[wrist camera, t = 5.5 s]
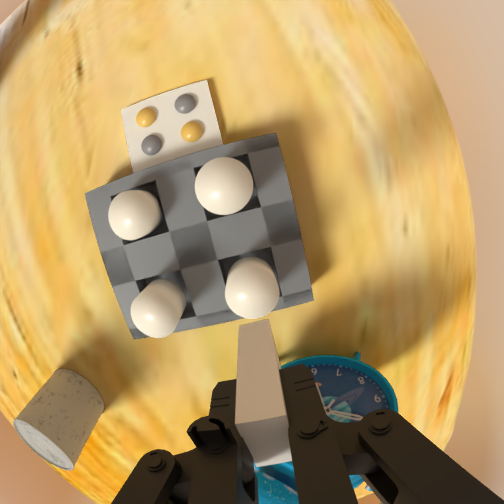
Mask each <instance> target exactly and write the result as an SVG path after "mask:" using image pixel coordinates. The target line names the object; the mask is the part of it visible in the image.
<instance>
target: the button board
mask: <svg viewBox="0 0 504 504" xmlns="http://www.w3.org/2000/svg"><path fill="white" fill-rule="evenodd" d="M219 157H229V158H233V159H236V160H238V161H240V162H241V163H243V164H244V165H245V166H246V167H247V168H248V170H249V171H250V173H251V176H252V179H253V192H252V195H251V198H250V200H249V201H248V203H247V204H246V205H245V206H244V207H243V208H242V209H241V210H239V211H237V212H235V213H233V214H228V215H219V214H215V213H212V212H210V211H208V210H207V209H205V208H204V207H203V206H202V205H201V204H200V202H199V201H198V199H197V196H196V193H195V180H196V177H197V174H198V172H199V171H200V169H201V168H202V167H203V166H204V165H205V164H206V163H207V162H209V161H211V160H213V159H215V158H219ZM128 190H148V191H151V192H154V193H155V194H157V195H158V196H159V198H160V200H161V204H162V208H163V211H164V218H163V221H162V223H161V225H160V226H159V227H158V228H157V229H156V230H155V231H153V232H151V233H149V234H147V235H145V236H143V237H141V238H138V239H136V240H125V239H122V238H120V237H119V236H117V235H116V234H115V233H114V231H113V230H112V228H111V226H110V223H109V219H108V212H109V207H110V204H111V202H112V200H113V199H114V198H115V197H116V196H117V195H118V194H119V193H121V192H123V191H128ZM85 196H86V201H87V205H88V209H89V213H90V217H91V221H92V225H93V228H94V232H95V236H96V239H97V242H98V246H99V249H100V252H101V256H102V259H103V262H104V265H105V268H106V271H107V274H108V276H109V279H110V282H111V285H112V288H113V290H114V293H115V296H116V298H117V301H118V303H119V306H120V308H121V311H122V313H123V316H124V318H125V320H126V323H127V325H128V327H129V329H130V332H131V334H132V336H133V338H134V339H139V338H146V337H150V336H147V335H146V334H144V333H142V332H141V331H140V330H139V329H138V328H137V327H136V326H135V324H134V322H133V320H132V318H131V305H132V302H133V301H134V299H135V298H136V297H137V296H138V295H139V294H140V293H141V292H142V291H143V290H144V289H145V288H146V287H147V286H148V285H149V284H150V283H151V282H152V281H154V280H156V279H169V280H171V281H173V282H175V283H176V284H178V285H179V286H180V287H181V289H182V290H183V292H184V294H185V297H186V306H185V309H184V311H183V314H182V316H181V318H180V320H179V322H178V324H177V326H176V328H175V330H174V331H173V332H172V333H175V332H180V331H185V330H191V329H196V328H201V327H206V326H210V325H215V324H220V323H225V322H229V321H234V320H238V319H243V318H244V317H241V316H239V315H237V314H235V313H234V312H233V311H232V310H231V309H230V308H229V306H228V304H227V302H226V299H225V288H226V283H227V277H228V273H229V270H230V268H231V267H232V265H233V264H234V263H235V262H236V261H238V260H240V259H242V258H245V257H258V258H261V259H263V260H264V261H266V262H267V263H268V264H269V265H270V266H271V268H272V270H273V272H274V275H275V278H276V281H277V283H278V286H279V292H280V295H279V300H278V303H277V305H276V306H275V308H274V309H273V310H272V311H276V310H280V309H284V308H288V307H291V306H295V305H299V304H303V303H306V302H310V301H314V298H313V293H312V288H311V282H310V277H309V272H308V267H307V262H306V257H305V252H304V247H303V242H302V238H301V233H300V228H299V224H298V219H297V215H296V210H295V206H294V202H293V198H292V193H291V189H290V185H289V181H288V177H287V173H286V169H285V165H284V161H283V157H282V153H281V150H280V146H279V142H278V138H277V135H276V133H272V134H267V135H263V136H258V137H254V138H249V139H245V140H241V141H237V142H233V143H229V144H225V145H221V146H217V147H214V148H210V149H206V150H203V151H199V152H196V153H193V154H189V155H186V156H183V157H180V158H176V159H173V160H170V161H167V162H164V163H161V164H158V165H155V166H153V167H150V168H147V169H144V170H141V171H139V172H136V173H133V174H131V175H128V176H125V177H123V178H120V179H118V180H115V181H113V182H110V183H108V184H106V185H103V186H101V187H98V188H96V189H94V190H91V191H89V192H87V193H85ZM272 311H271V312H272Z"/></svg>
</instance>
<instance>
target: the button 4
mask: <svg viewBox="0 0 504 504" xmlns="http://www.w3.org/2000/svg"><path fill="white" fill-rule="evenodd" d="M279 295H280V292H279V286H278V283H277V281H276V278H275V275H274V272H273V270H272V268H271V266H270V265H269V264H268V263H267V262H266V261H264V260H263V259H261V258H258V257H245V258H242V259H240V260H238V261H236V262H235V263H234V264H233V265H232V267H231V268H230V270H229V273H228V277H227V283H226V288H225V299H226V302H227V304H228V306H229V308H230V309H231V310H232V311H233V312H234V313H235V314H237V315H239V316H241V317H244V318H248V319H256V318H260V317H263V316H265V315H267V314H269V313H270V312H271V311H272V310H273V309H274V308H275V306H276V305H277V303H278V300H279Z"/></svg>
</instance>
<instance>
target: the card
mask: <svg viewBox="0 0 504 504" xmlns="http://www.w3.org/2000/svg"><path fill="white" fill-rule="evenodd" d="M121 113H122V119H123V125H124V131H125V136H126V141H127V147H128V152H129V157H130V161H131V166H132V170H133V173H136V172H139V171H141V170H144V169H147V168H150V167H153V166H155V165H158V164H161V163H164V162H167V161H170V160H173V159H176V158H180V157H183V156H186V155H189V154H193V153H196V152H199V151H203V150H206V149H210V148H214V147H217V146H221V145H223V141H222V137H221V133H220V129H219V125H218V121H217V117H216V113H215V109H214V106H213V102H212V98H211V94H210V90H209V86H208V82H207V80H204V81H200V82H197V83H193V84H190V85H187V86H183V87H180V88H177V89H174V90H171V91H168V92H165V93H162V94H159V95H157V96H154V97H151V98H149V99H146V100H143V101H141V102H138V103H136V104H133V105H131V106H129V107H126V108H124V109H122V110H121Z"/></svg>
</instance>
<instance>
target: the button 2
mask: <svg viewBox="0 0 504 504" xmlns="http://www.w3.org/2000/svg"><path fill="white" fill-rule="evenodd" d="M185 306H186V297H185V294H184V292H183V290H182V289H181V287H180V286H179V285H178V284H176V283H175V282H173V281H171V280H169V279H156V280H154V281H152V282H151V283H150V284H149V285H148V286H147V287H146V288H145V289H144V290H143V291H142V292H141V293H140V294H139V295H138V296H137V297H136V298H135V299H134V301H133V302H132V305H131V318H132V320H133V322H134V324H135V326H136V327H137V328H138V329H139V330H140V331H141V332H142V333H144V334H146V335H147V336H150V337H154V338H163V337H166V336H168V335H170V334H171V333H172V332H173V331H174V330H175V328H176V326H177V324H178V322H179V320H180V318H181V316H182V314H183V311H184V309H185Z"/></svg>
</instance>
